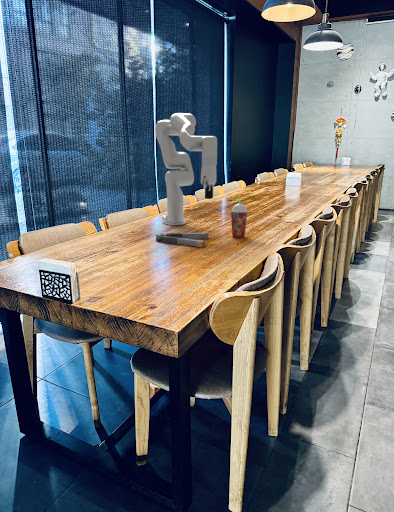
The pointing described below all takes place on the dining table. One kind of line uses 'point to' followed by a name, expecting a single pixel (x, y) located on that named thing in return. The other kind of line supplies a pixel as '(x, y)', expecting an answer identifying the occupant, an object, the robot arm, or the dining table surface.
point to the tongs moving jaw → (184, 235)
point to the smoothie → (238, 220)
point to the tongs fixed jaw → (183, 241)
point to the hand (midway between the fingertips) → (208, 198)
